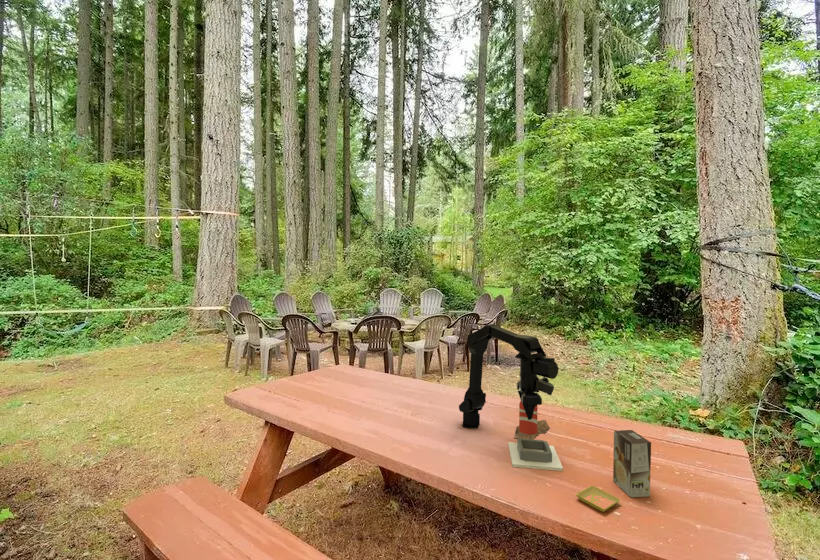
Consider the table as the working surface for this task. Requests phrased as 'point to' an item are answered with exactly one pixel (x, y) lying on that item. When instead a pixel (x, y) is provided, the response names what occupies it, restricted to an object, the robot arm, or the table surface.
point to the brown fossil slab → (541, 428)
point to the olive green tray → (596, 491)
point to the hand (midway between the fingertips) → (528, 416)
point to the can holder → (534, 455)
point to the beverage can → (527, 421)
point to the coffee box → (632, 463)
